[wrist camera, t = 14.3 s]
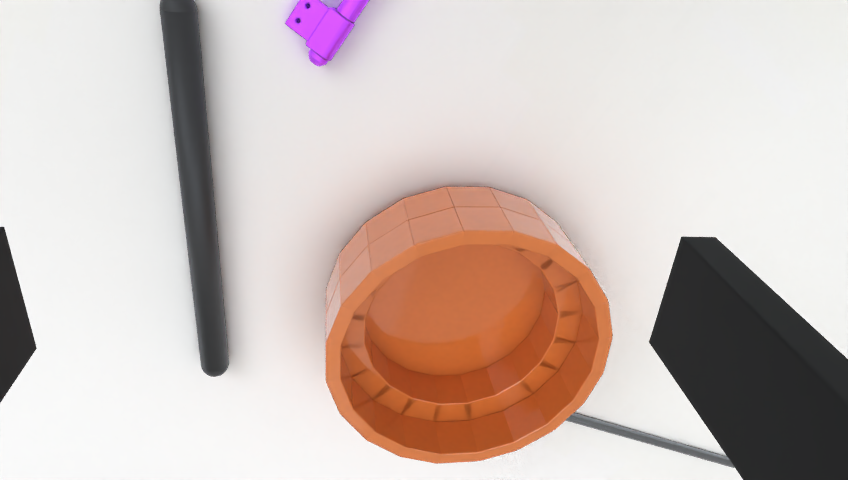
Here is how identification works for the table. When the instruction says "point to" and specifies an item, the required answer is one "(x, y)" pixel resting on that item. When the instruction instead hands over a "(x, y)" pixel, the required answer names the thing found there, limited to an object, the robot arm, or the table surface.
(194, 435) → the table surface
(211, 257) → the stick
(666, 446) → the rod
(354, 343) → the bowl
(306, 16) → the purple gold bent tool
